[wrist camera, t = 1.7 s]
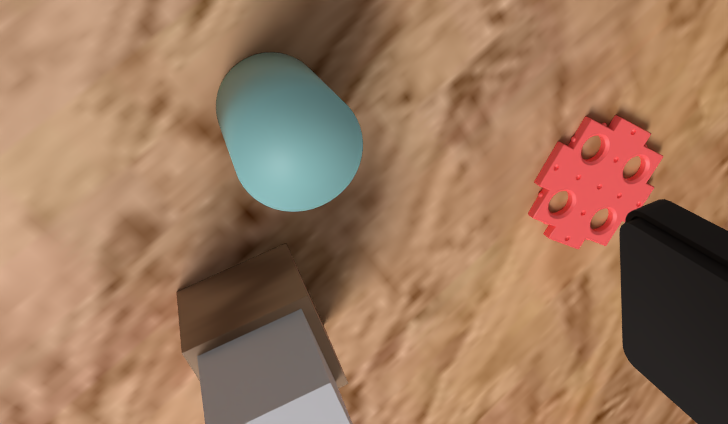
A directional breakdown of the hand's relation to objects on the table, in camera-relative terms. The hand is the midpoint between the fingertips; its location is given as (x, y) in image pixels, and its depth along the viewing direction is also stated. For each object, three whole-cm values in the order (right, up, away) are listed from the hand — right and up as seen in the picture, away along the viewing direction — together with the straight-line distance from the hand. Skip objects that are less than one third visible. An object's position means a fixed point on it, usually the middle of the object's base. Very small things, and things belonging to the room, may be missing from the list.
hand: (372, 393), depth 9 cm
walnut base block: (-6, -2, +23) cm, 24 cm away
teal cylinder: (-4, +8, +19) cm, 21 cm away
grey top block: (-5, -5, +19) cm, 20 cm away
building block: (+13, +5, +27) cm, 31 cm away
